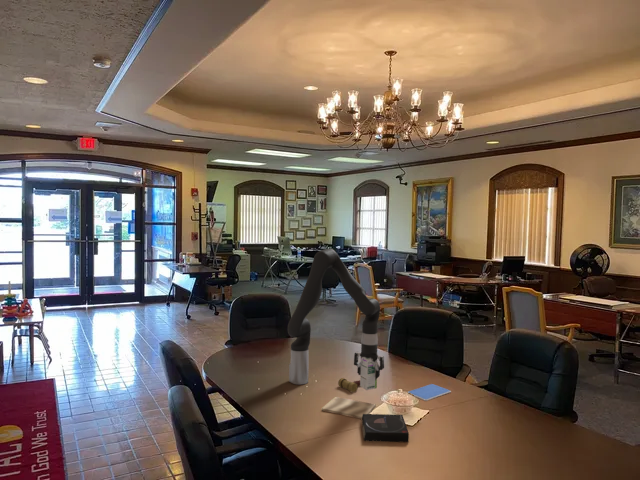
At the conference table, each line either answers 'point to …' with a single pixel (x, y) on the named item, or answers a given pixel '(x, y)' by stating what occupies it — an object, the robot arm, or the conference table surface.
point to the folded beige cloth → (348, 407)
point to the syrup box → (368, 374)
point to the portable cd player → (384, 428)
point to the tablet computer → (429, 392)
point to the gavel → (349, 384)
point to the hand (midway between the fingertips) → (368, 376)
